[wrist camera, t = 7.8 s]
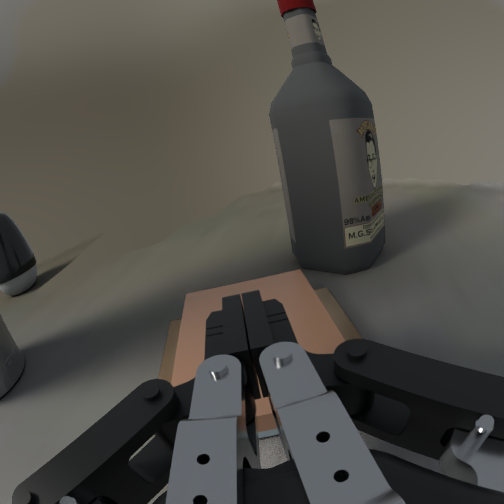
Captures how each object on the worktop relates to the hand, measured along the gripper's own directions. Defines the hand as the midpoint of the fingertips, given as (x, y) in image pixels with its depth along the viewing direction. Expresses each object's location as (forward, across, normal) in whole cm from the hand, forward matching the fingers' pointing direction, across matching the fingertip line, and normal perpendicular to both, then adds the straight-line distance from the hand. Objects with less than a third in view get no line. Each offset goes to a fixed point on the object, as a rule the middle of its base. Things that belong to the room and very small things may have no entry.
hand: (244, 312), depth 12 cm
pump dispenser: (+31, +42, +7) cm, 53 cm away
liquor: (+18, -11, +7) cm, 22 cm away
